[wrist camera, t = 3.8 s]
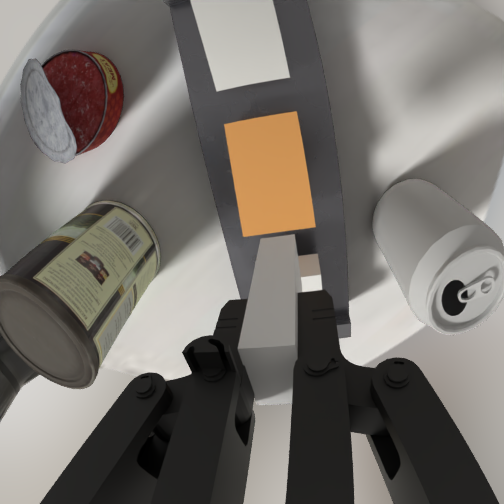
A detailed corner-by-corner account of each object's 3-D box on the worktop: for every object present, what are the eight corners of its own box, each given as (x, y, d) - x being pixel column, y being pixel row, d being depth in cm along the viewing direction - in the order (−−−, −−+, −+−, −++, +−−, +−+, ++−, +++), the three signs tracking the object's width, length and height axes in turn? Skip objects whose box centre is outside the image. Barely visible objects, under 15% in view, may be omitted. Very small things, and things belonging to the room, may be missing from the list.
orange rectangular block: (314, 222, 20) (315, 227, 18) (248, 231, 21) (243, 236, 19) (296, 118, 19) (296, 111, 17) (231, 129, 19) (223, 124, 17)
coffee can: (74, 267, 31) (0, 349, 19) (81, 185, 26) (-23, 255, 14) (151, 304, 32) (95, 407, 20) (173, 223, 27) (94, 327, 15)
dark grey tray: (343, 304, 29) (350, 336, 25) (255, 314, 31) (250, 347, 27) (293, -22, 16) (295, -46, 12) (181, 1, 18) (160, -16, 13)
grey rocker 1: (322, 311, 26) (324, 331, 24) (272, 317, 26) (271, 337, 25) (317, 252, 21) (320, 274, 19) (255, 260, 22) (253, 282, 20)
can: (355, 202, 24) (400, 282, 14) (427, 160, 22) (512, 213, 11) (388, 267, 27) (431, 361, 16) (452, 230, 24) (520, 307, 14)
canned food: (139, 124, 28) (102, 196, 22) (59, 125, 27) (14, 190, 21) (131, 21, 18) (68, 66, 13) (39, 36, 17) (-31, 89, 12)
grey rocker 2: (287, 72, 17) (289, 77, 16) (221, 84, 18) (216, 91, 16) (265, -24, 13) (264, -30, 11) (194, -9, 13) (186, -12, 12)
